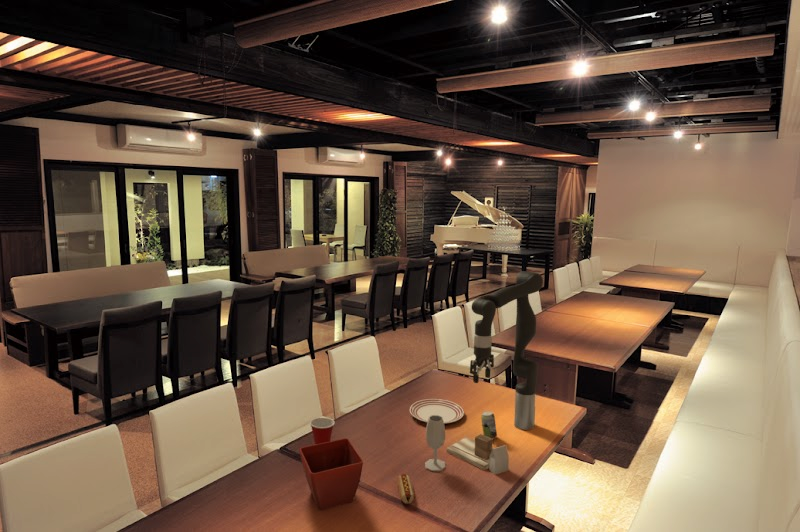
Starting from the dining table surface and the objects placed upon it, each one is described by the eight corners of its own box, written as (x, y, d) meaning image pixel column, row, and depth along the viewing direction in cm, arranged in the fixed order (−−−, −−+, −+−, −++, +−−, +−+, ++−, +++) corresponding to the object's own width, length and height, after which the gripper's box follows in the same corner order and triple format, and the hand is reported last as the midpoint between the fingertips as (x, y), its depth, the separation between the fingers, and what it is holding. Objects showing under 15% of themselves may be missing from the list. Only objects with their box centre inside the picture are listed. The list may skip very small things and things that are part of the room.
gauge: (477, 450, 211) (477, 432, 210) (492, 456, 205) (492, 438, 204) (471, 453, 208) (472, 435, 207) (486, 460, 203) (486, 442, 202)
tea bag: (508, 470, 199) (509, 447, 197) (494, 474, 196) (495, 451, 194) (502, 466, 202) (503, 443, 201) (489, 470, 199) (489, 447, 198)
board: (466, 441, 223) (466, 436, 222) (504, 457, 208) (504, 453, 208) (446, 452, 213) (446, 447, 213) (484, 470, 199) (484, 465, 198)
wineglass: (448, 462, 204) (448, 415, 201) (442, 474, 196) (443, 424, 193) (427, 459, 207) (428, 412, 204) (421, 470, 199) (422, 421, 196)
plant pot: (311, 519, 169) (310, 473, 166) (300, 489, 186) (298, 447, 184) (364, 505, 176) (364, 461, 174) (348, 477, 194) (347, 437, 191)
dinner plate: (472, 412, 253) (472, 406, 252) (448, 433, 230) (448, 427, 229) (426, 400, 267) (426, 394, 267) (399, 419, 244) (399, 413, 244)
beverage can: (496, 441, 222) (497, 416, 220) (480, 440, 224) (481, 415, 222) (496, 435, 228) (497, 410, 227) (480, 433, 230) (481, 409, 228)
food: (416, 505, 176) (416, 492, 176) (400, 506, 176) (400, 494, 175) (410, 483, 190) (410, 471, 189) (396, 484, 189) (396, 472, 189)
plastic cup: (340, 446, 217) (339, 421, 216) (320, 456, 209) (320, 429, 208) (324, 438, 225) (324, 413, 223) (305, 447, 217) (304, 421, 215)
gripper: (485, 339, 221) (484, 373, 223) (465, 346, 211) (464, 382, 213) (499, 342, 215) (498, 378, 218) (479, 349, 206) (478, 386, 208)
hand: (481, 380), depth 215 cm, fingers open, 8 cm apart
